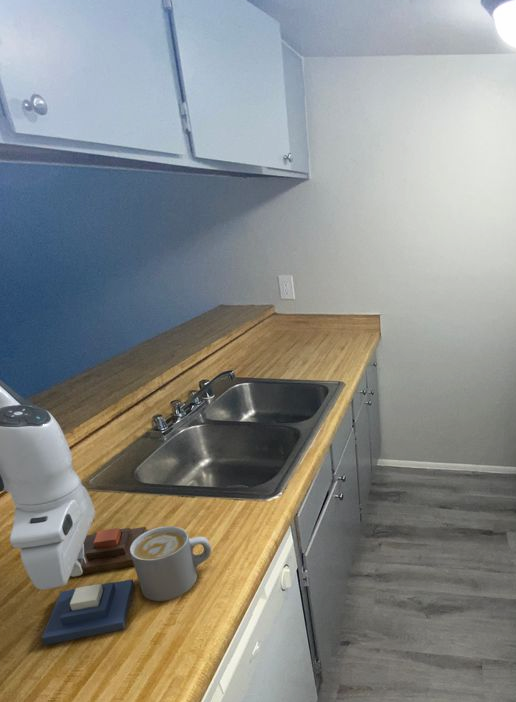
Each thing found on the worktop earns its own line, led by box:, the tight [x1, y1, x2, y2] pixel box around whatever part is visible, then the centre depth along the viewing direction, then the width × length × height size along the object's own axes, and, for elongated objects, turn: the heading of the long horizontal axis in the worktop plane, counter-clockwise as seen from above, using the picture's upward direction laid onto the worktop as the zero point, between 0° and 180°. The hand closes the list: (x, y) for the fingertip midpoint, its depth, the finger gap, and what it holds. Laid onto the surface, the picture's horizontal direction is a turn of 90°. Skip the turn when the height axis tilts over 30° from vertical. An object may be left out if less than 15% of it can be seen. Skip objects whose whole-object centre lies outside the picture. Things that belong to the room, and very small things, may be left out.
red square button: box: [94, 527, 121, 549], centre depth 98 cm, size 4×4×2 cm
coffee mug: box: [130, 525, 212, 602], centre depth 92 cm, size 13×10×10 cm
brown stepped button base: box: [80, 526, 148, 576], centre depth 99 cm, size 12×11×4 cm
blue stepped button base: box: [40, 578, 135, 646], centre depth 85 cm, size 12×11×4 cm
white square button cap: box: [70, 583, 103, 611], centre depth 84 cm, size 4×4×2 cm
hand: (79, 570), depth 81 cm, fingers closed
